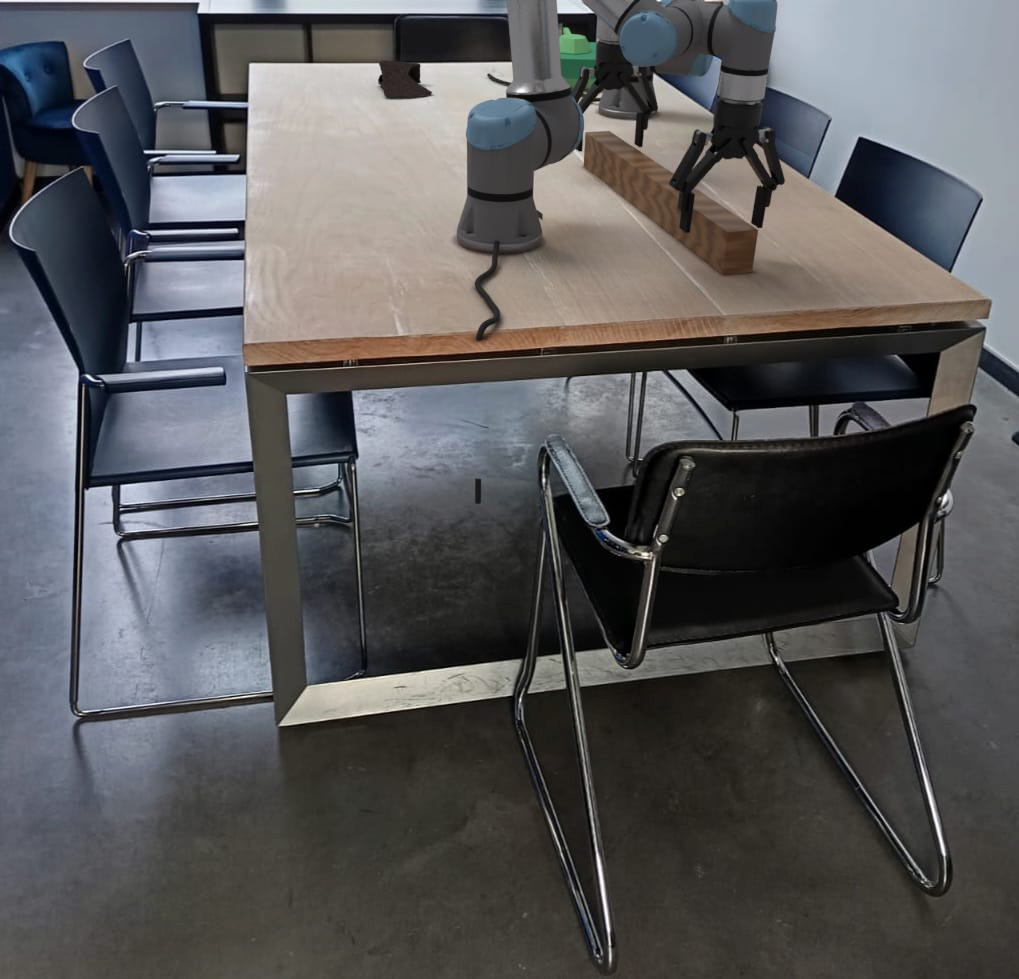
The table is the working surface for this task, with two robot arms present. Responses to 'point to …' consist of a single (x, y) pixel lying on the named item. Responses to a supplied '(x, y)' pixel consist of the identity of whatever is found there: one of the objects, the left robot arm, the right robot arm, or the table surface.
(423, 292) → the table surface
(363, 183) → the table surface
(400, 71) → the axe head
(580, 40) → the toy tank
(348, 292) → the table surface
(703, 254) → the post
